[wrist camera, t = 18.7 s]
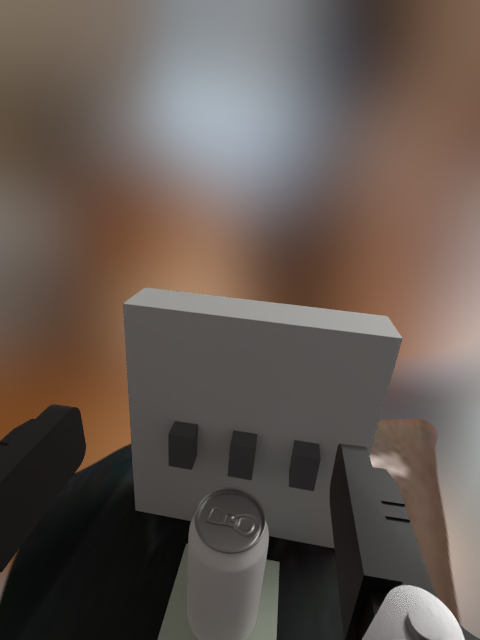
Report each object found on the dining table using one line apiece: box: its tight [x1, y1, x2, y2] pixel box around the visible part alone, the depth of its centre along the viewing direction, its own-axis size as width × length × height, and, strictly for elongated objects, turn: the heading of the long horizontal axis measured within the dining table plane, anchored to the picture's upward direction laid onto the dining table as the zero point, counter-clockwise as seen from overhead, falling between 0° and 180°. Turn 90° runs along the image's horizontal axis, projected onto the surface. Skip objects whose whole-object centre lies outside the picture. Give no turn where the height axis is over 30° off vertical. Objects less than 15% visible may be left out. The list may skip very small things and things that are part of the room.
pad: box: [157, 544, 280, 640], centre depth 32 cm, size 10×10×1 cm
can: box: [187, 487, 269, 640], centre depth 29 cm, size 6×6×12 cm
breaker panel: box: [123, 288, 402, 548], centre depth 36 cm, size 7×24×26 cm, turn 82°
